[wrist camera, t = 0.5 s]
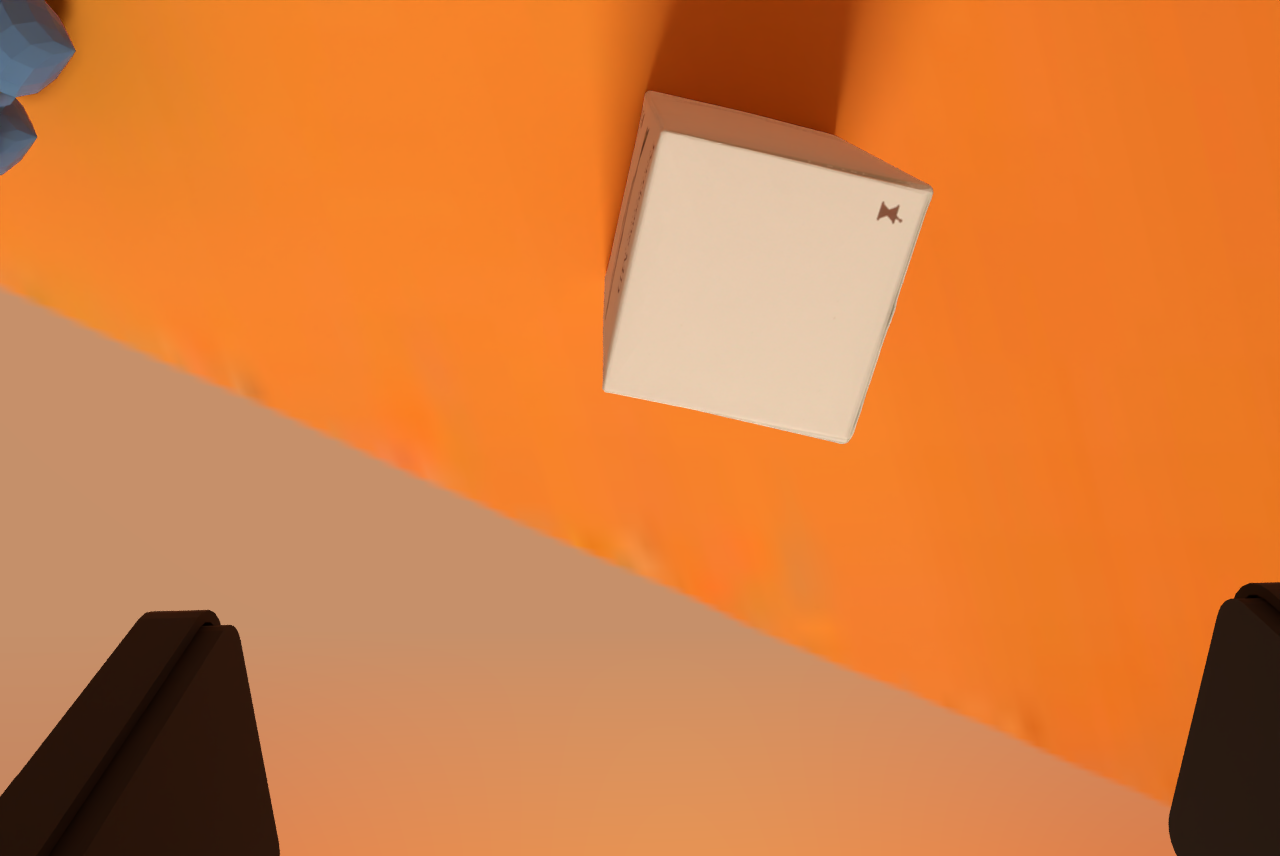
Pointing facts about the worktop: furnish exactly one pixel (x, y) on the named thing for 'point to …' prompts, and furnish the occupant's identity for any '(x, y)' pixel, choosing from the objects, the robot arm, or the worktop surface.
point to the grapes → (26, 68)
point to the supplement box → (754, 268)
